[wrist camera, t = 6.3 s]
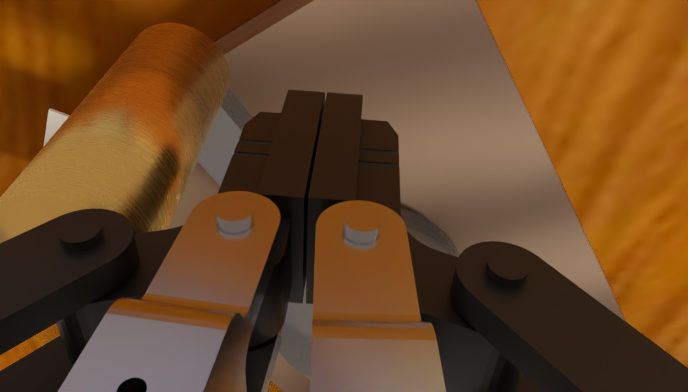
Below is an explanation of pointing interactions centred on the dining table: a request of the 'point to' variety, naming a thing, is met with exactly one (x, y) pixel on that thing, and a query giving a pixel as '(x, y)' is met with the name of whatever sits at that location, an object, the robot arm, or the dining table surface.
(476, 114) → the stand
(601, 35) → the dining table surface
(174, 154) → the capstan
